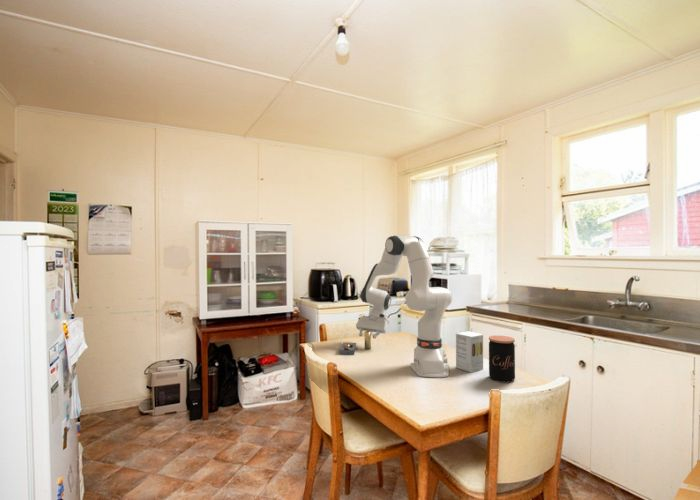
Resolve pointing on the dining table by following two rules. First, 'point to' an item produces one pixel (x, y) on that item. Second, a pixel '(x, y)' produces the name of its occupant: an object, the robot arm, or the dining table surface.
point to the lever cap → (367, 340)
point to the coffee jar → (502, 358)
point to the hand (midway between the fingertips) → (367, 336)
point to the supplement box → (469, 351)
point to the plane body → (348, 349)
